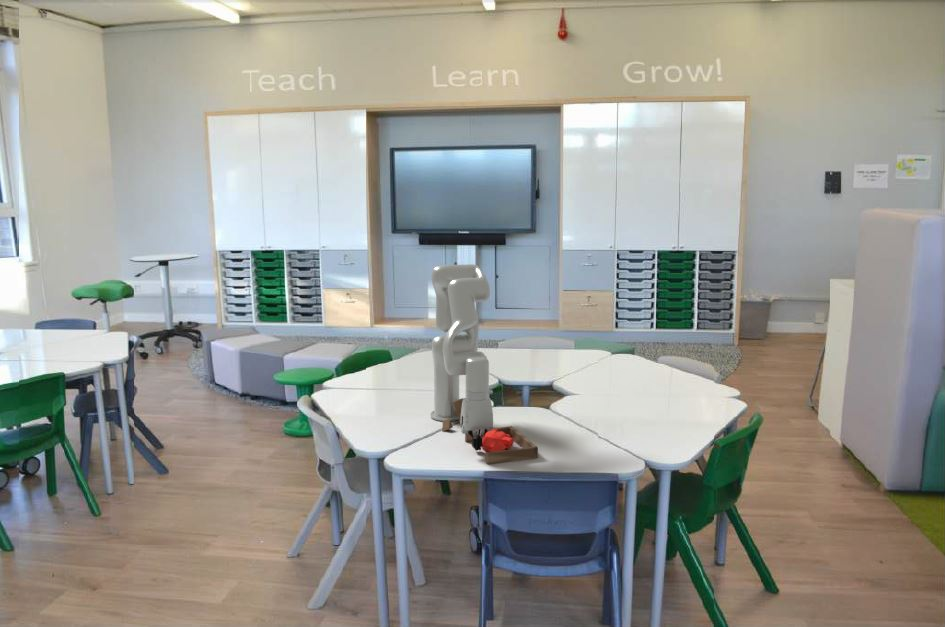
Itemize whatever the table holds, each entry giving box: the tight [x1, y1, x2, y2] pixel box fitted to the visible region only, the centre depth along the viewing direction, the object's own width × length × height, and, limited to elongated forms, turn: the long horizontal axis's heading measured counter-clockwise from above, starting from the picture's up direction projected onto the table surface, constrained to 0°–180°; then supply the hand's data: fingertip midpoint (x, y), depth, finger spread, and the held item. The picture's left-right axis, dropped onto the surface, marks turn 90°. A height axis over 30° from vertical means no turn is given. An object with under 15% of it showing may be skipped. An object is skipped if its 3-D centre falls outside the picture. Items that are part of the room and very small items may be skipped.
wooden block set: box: [441, 397, 464, 432], centre depth 256 cm, size 18×9×10 cm, turn 153°
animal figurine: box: [481, 429, 515, 452], centre depth 231 cm, size 12×15×5 cm
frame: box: [464, 425, 539, 465], centre depth 231 cm, size 22×17×4 cm
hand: (477, 448), depth 229 cm, fingers closed
